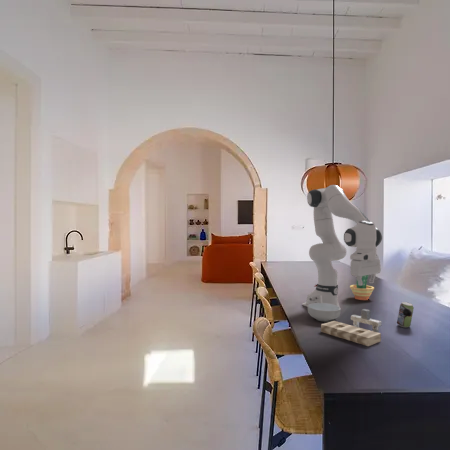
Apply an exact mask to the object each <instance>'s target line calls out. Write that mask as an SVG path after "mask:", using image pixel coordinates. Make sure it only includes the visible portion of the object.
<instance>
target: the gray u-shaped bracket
mask: <svg viewBox="0 0 450 450" xmlns="http://www.w3.org/2000/svg"><path fill="white" fill-rule="evenodd" d="M350 321H353V322H352V324H353V325H352V326H355V327H359V328H360V323H361V324H365V325H369V326H372V330H371V331H374V332H378V333H380V332H379V331H380V327H381V326H382V321H381V320H378V319H373V318H371V310H370V309H366V308H363V309H361V310H360V315H357V314H352V315H350Z"/></svg>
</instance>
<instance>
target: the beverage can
mask: <svg viewBox="0 0 450 450" xmlns="http://www.w3.org/2000/svg"><path fill="white" fill-rule="evenodd" d="M414 308H415V307H414V305H413V304H412V303H410V302H407V301H401V303H400V304H399V309H398V315H397V321H396V323H397V325H398V326H399V327H401V328H404V329H405V328H410V327H411V326H412V324H411V323H412V319H413V313H414Z"/></svg>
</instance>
